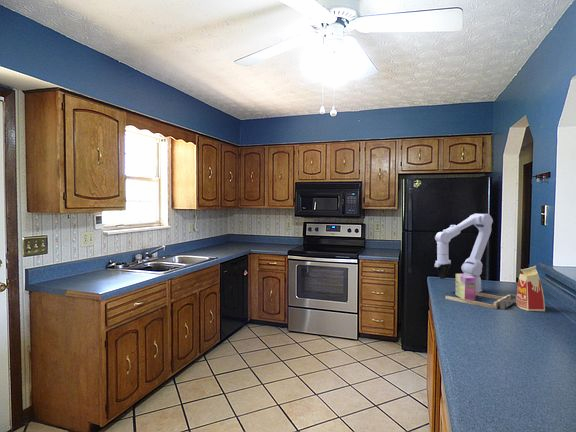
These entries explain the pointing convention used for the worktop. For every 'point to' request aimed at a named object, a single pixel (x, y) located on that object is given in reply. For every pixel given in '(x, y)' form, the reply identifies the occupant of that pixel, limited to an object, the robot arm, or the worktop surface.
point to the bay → (501, 303)
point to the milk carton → (530, 291)
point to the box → (465, 286)
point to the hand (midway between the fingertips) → (442, 278)
